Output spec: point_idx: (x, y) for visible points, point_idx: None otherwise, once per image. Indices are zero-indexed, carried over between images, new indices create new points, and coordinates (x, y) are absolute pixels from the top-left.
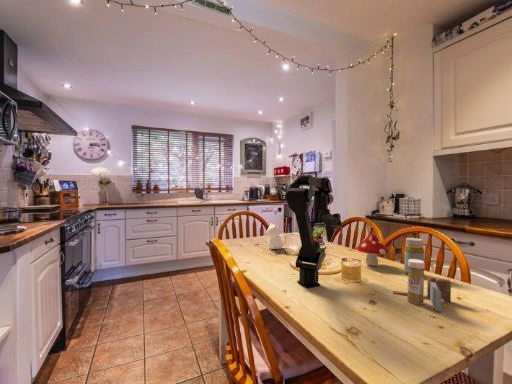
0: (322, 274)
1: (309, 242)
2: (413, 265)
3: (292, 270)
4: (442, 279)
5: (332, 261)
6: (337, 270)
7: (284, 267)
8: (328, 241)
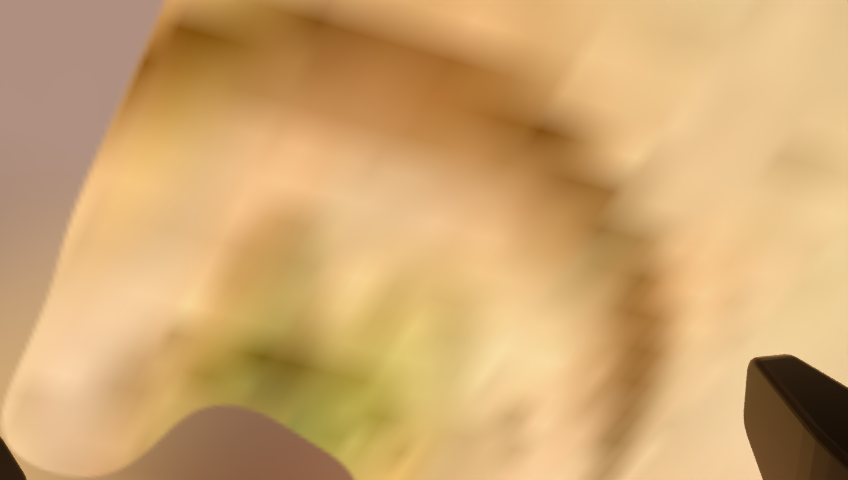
0: (410, 39)
1: None
2: None
3: (720, 292)
4: None
5: (52, 426)
6: (113, 129)
7: None
8: (1, 464)
